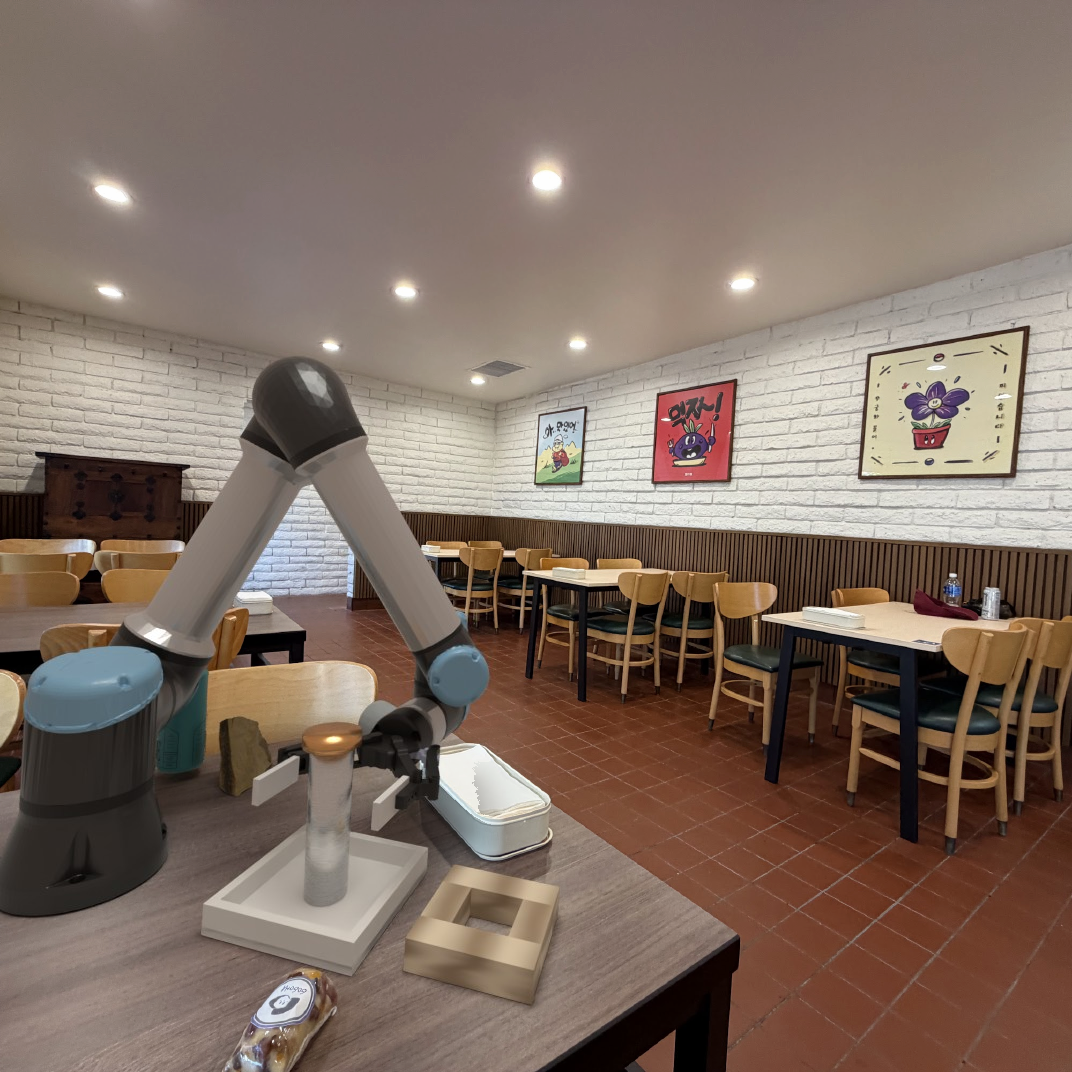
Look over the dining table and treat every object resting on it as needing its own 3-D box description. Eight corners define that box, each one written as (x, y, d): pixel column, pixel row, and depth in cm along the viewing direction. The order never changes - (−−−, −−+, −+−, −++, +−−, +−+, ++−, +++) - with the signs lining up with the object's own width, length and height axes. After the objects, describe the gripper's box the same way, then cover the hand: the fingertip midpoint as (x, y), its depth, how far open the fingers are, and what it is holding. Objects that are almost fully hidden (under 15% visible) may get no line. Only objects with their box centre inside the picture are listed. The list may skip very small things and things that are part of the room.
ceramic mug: (383, 760, 96) (387, 715, 96) (355, 746, 101) (358, 703, 101) (430, 745, 104) (434, 704, 104) (402, 733, 109) (405, 693, 109)
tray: (201, 935, 54) (203, 903, 54) (305, 846, 69) (307, 822, 69) (351, 976, 50) (353, 943, 50) (426, 873, 66) (428, 847, 66)
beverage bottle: (212, 773, 87) (221, 644, 87) (165, 788, 81) (174, 650, 81) (190, 761, 90) (199, 637, 90) (144, 775, 85) (153, 642, 85)
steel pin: (282, 905, 58) (289, 738, 57) (317, 870, 63) (324, 719, 63) (334, 917, 56) (342, 747, 56) (365, 880, 62) (373, 726, 62)
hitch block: (403, 970, 51) (405, 938, 51) (452, 891, 63) (454, 864, 63) (531, 1005, 49) (533, 970, 48) (557, 914, 60) (559, 887, 60)
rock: (258, 742, 94) (196, 751, 86) (284, 707, 92) (224, 713, 84) (281, 799, 89) (218, 814, 81) (309, 763, 87) (248, 775, 79)
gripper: (493, 776, 74) (426, 866, 54) (325, 746, 80) (206, 818, 59) (497, 719, 74) (432, 788, 54) (329, 694, 80) (211, 747, 59)
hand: (313, 804), depth 56 cm, fingers open, 13 cm apart
